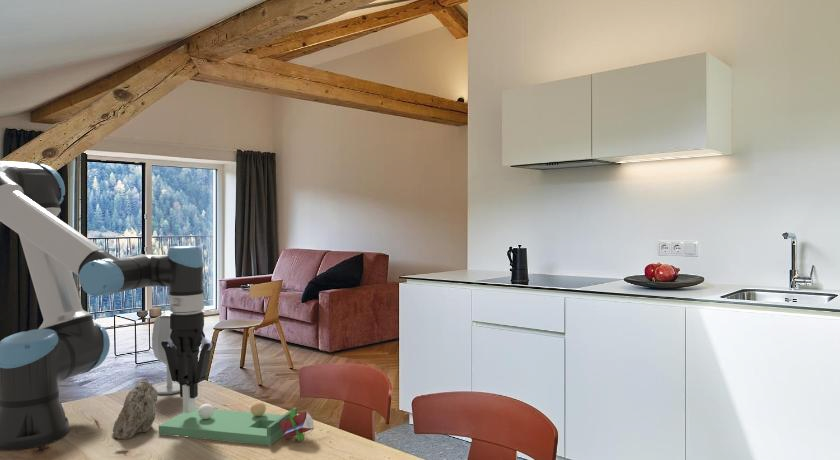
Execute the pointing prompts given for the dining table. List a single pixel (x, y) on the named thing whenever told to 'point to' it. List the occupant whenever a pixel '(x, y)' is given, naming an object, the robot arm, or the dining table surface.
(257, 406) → the orange ball
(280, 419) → the putting mat
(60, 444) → the dining table surface
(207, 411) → the white ball
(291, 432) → the geometric puzzle
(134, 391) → the rock
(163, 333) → the wineglass
